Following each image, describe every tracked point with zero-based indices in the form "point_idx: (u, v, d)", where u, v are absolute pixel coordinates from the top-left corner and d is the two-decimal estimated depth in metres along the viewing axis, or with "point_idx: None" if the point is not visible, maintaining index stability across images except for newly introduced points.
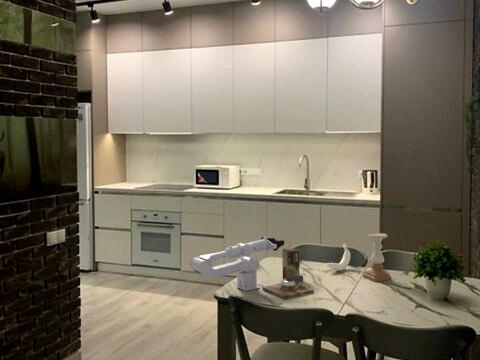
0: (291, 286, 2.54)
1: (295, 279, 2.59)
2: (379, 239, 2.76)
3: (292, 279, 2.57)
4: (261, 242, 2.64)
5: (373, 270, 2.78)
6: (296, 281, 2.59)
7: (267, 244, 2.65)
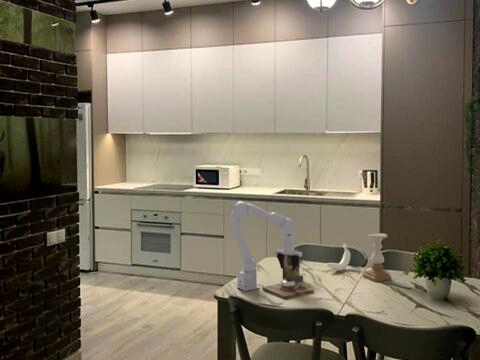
0: (291, 286, 2.54)
1: (295, 279, 2.59)
2: (379, 239, 2.76)
3: (292, 279, 2.57)
4: None
5: (373, 270, 2.78)
6: (296, 281, 2.59)
7: (293, 250, 2.62)
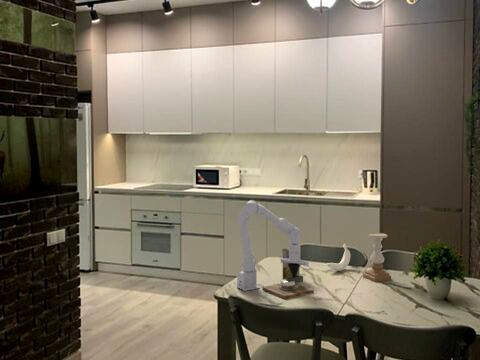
0: (291, 286, 2.54)
1: (295, 279, 2.59)
2: (379, 239, 2.76)
3: (292, 279, 2.57)
4: None
5: (373, 270, 2.78)
6: (296, 281, 2.59)
7: None
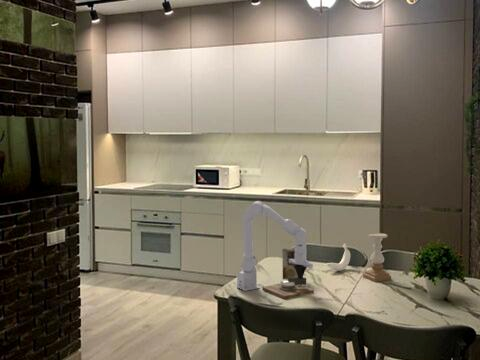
0: (287, 286, 2.54)
1: (296, 280, 2.56)
2: (379, 239, 2.76)
3: (292, 280, 2.56)
4: None
5: (373, 270, 2.78)
6: (297, 283, 2.56)
7: (305, 261, 2.57)
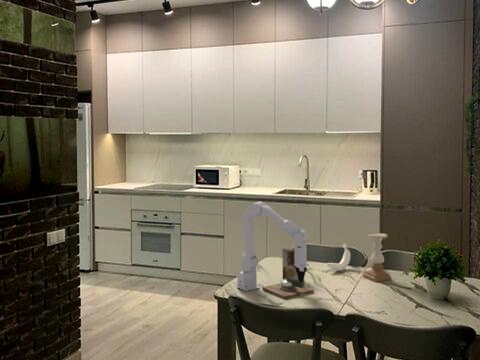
0: (282, 286, 2.55)
1: (293, 282, 2.54)
2: (379, 239, 2.76)
3: (290, 280, 2.55)
4: (305, 257, 2.51)
5: (373, 270, 2.78)
6: (294, 284, 2.54)
7: (302, 263, 2.51)
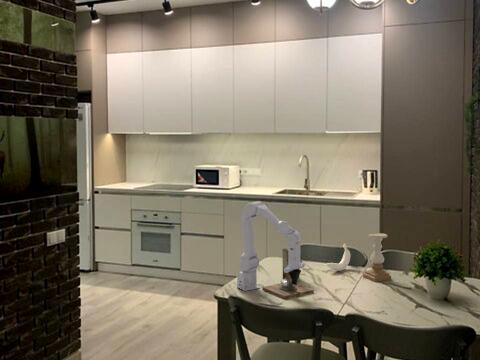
0: None
1: (287, 282, 2.53)
2: (379, 239, 2.76)
3: (286, 280, 2.55)
4: (295, 259, 2.47)
5: (373, 270, 2.78)
6: (287, 285, 2.53)
7: (292, 265, 2.47)
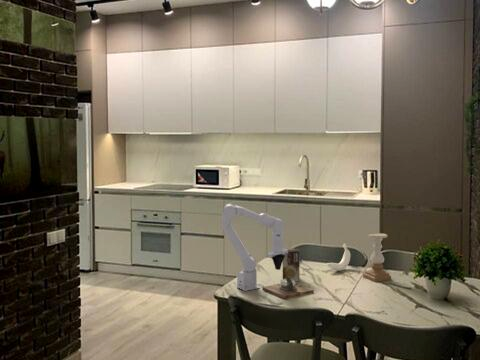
0: None
1: (287, 282, 2.53)
2: (379, 239, 2.76)
3: (286, 280, 2.55)
4: (279, 245, 2.60)
5: (373, 270, 2.78)
6: (287, 285, 2.53)
7: (275, 251, 2.60)
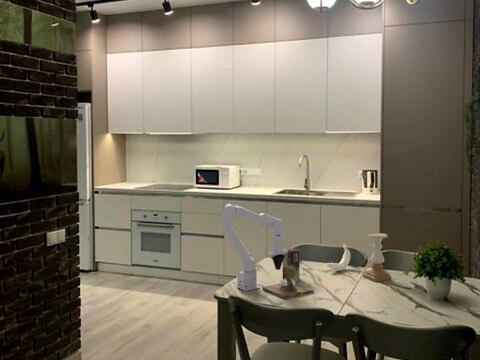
0: None
1: (287, 282, 2.53)
2: (379, 239, 2.76)
3: (286, 280, 2.55)
4: (279, 245, 2.60)
5: (373, 270, 2.78)
6: (287, 285, 2.53)
7: (275, 251, 2.60)
